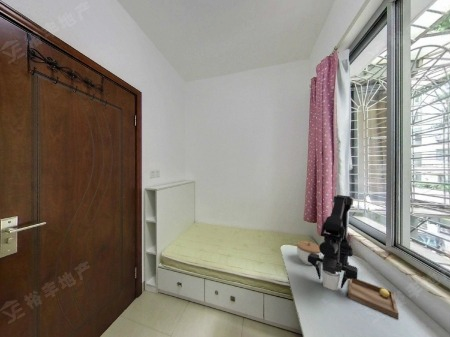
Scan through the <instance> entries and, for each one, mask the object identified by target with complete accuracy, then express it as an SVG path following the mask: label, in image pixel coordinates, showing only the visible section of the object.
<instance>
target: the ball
mask: <svg viewBox="0 0 450 337" xmlns="http://www.w3.org/2000/svg"><path fill="white" fill-rule="evenodd" d="M387 290H388V289H386V288H384V289H380V294H381V295H382V296H383V297H389V292H388V291H387Z"/></svg>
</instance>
